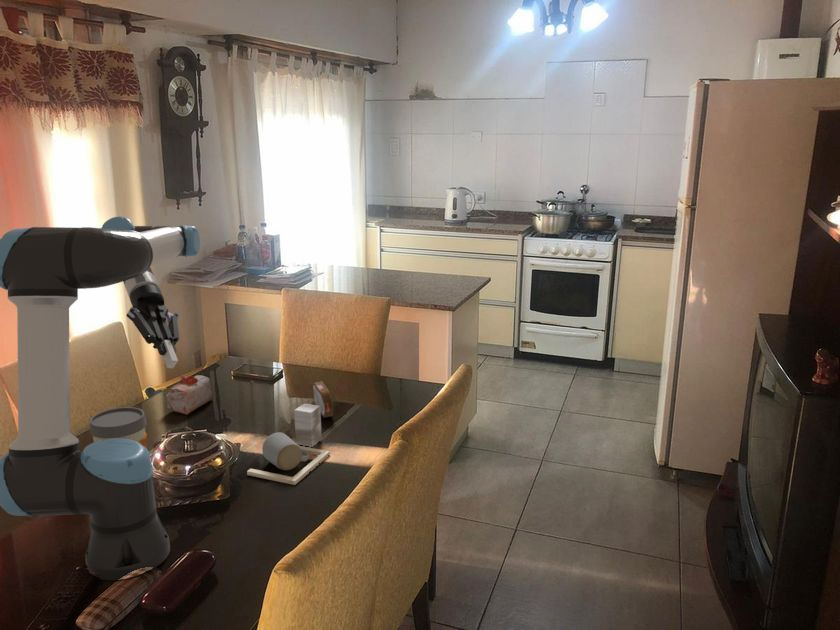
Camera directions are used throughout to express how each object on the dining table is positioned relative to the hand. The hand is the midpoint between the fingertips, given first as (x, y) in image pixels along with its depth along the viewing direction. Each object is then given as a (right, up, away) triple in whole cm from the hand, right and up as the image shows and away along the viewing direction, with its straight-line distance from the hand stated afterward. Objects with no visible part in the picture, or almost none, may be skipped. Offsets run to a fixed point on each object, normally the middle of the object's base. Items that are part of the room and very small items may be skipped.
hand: (172, 364), depth 157 cm
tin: (+29, -18, +45) cm, 56 cm away
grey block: (+28, -23, +25) cm, 44 cm away
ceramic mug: (+24, -26, +13) cm, 38 cm away
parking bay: (+25, -26, +12) cm, 38 cm away
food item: (-12, -17, +49) cm, 53 cm away
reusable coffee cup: (-15, -28, +8) cm, 32 cm away
